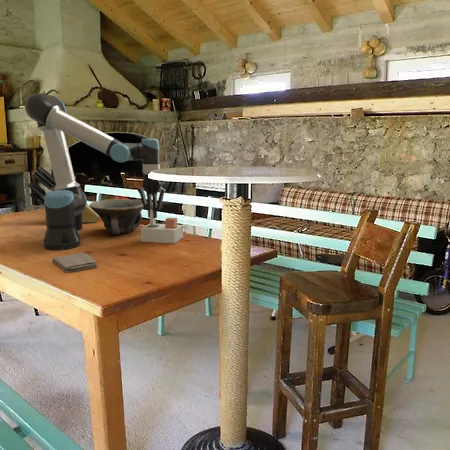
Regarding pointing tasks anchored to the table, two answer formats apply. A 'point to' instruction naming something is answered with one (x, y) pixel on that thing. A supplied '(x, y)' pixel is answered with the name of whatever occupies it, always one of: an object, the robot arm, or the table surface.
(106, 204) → the bowl
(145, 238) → the block
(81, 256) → the washcloth
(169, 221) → the pink cube
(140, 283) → the table surface
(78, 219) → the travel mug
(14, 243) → the table surface
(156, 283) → the table surface
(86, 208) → the knife block
